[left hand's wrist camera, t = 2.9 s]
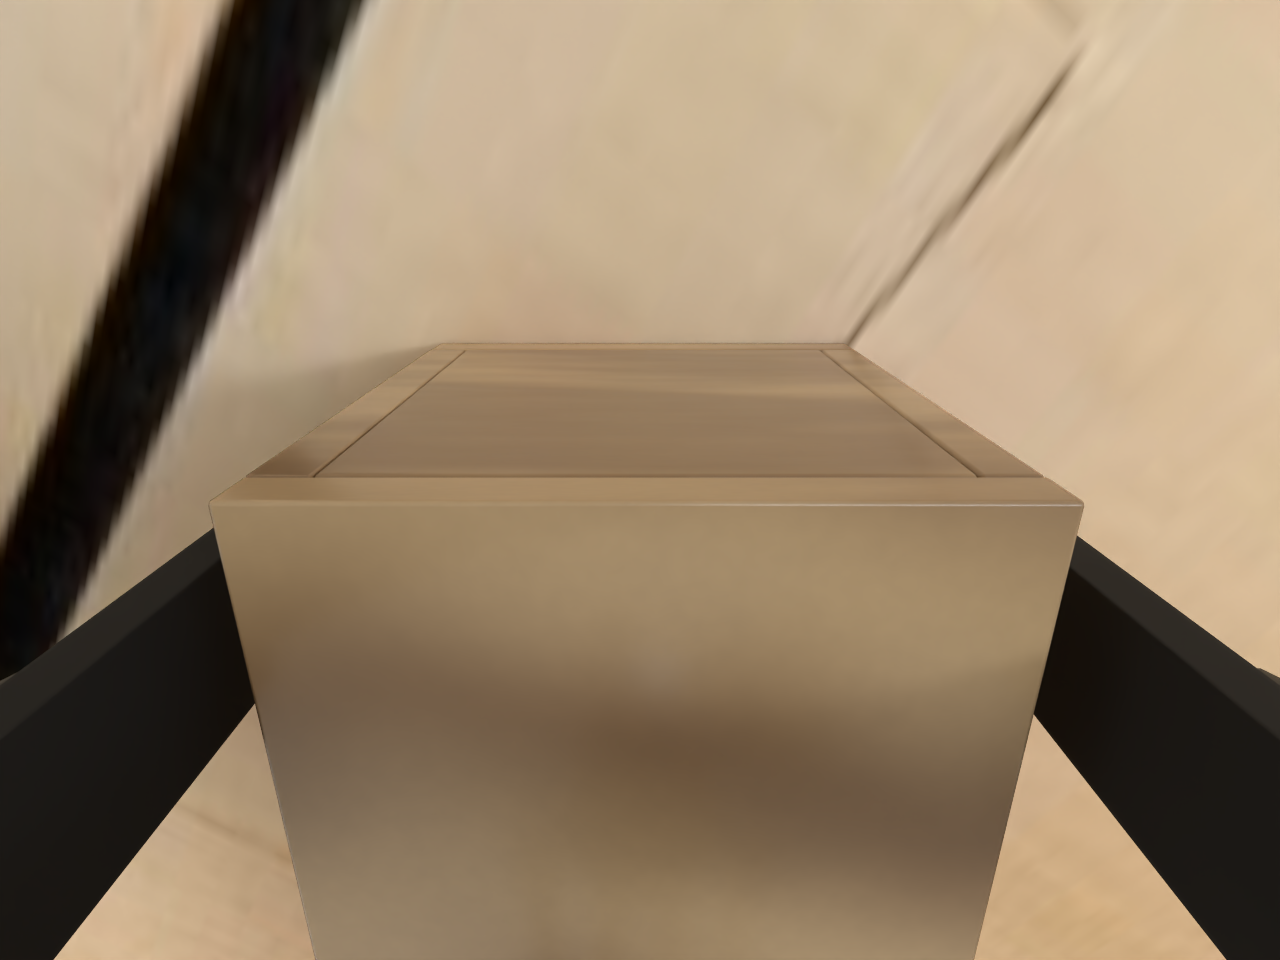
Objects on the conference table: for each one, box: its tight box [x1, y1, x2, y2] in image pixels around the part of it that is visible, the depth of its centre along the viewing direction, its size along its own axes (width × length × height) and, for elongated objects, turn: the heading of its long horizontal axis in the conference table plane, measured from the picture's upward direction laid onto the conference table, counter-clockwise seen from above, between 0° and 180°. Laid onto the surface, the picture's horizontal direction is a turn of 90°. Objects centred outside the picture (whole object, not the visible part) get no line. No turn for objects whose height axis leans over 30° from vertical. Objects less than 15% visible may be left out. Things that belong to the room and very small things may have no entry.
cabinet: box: [209, 344, 1084, 960], centre depth 17 cm, size 21×10×10 cm, turn 0°
